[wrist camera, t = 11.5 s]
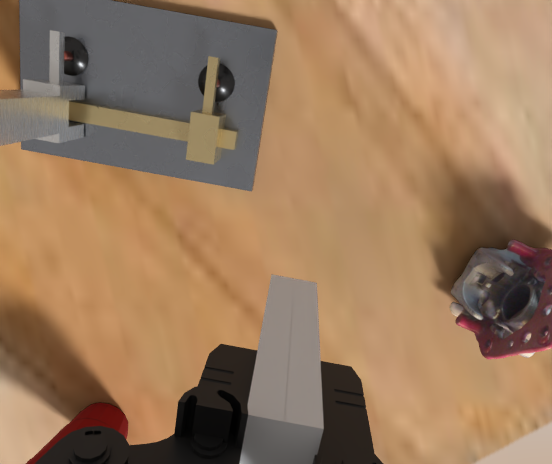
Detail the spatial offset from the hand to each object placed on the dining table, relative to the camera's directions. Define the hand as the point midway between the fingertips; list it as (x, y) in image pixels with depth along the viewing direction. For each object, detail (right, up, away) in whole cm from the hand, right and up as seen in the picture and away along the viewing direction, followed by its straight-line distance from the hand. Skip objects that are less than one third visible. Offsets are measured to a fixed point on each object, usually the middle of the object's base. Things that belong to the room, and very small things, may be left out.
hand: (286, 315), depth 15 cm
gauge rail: (-12, +15, +26) cm, 32 cm away
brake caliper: (+22, -2, +30) cm, 37 cm away
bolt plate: (-12, +15, +26) cm, 32 cm away
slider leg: (-19, +16, +25) cm, 35 cm away
